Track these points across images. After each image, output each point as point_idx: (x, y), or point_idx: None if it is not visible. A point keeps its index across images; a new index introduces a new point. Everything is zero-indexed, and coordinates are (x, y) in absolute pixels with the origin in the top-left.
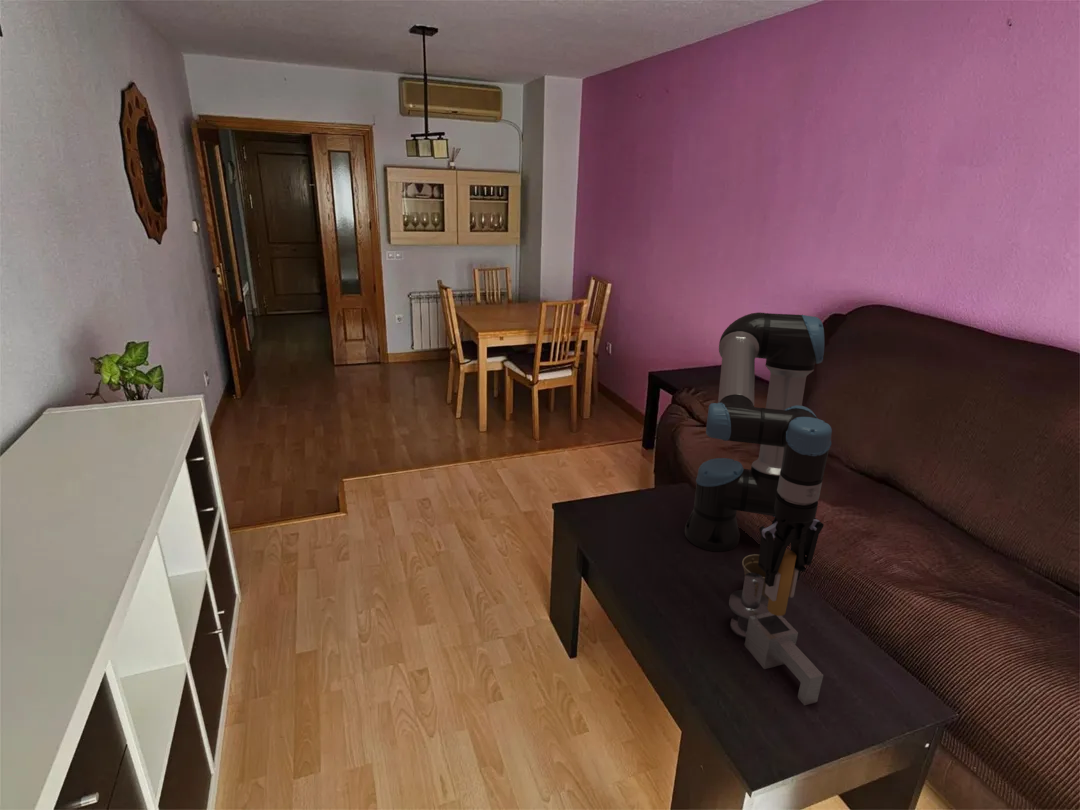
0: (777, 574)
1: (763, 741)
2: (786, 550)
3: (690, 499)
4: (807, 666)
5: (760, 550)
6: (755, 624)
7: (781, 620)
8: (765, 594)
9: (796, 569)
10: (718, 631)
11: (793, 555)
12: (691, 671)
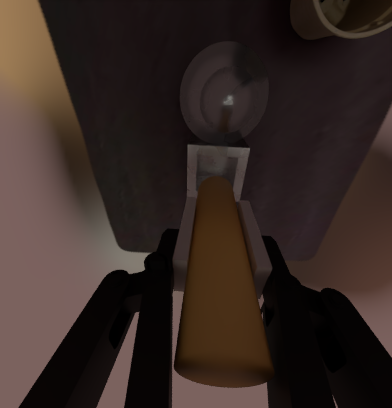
0: (176, 288)
1: (143, 233)
2: (246, 364)
3: None
4: None
5: (32, 395)
6: (187, 163)
7: (236, 172)
8: (314, 36)
9: (260, 293)
10: (172, 88)
11: (243, 383)
12: (103, 147)
